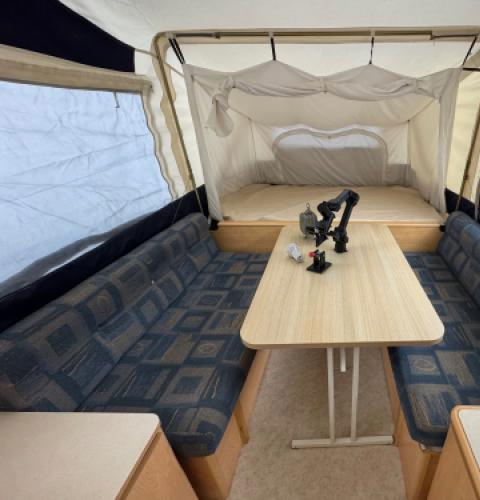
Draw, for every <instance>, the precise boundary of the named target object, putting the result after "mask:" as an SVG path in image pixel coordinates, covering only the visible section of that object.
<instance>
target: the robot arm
mask: <svg viewBox="0 0 480 500" xmlns="http://www.w3.org/2000/svg"><path fill="white" fill-rule="evenodd" d="M360 199H361V197H360V195H359V193H358V192H356V191H353V190H352V188H351V189H350V188H344V189H343V190H342V191H341V192H340V193H339V194H338V195H337V196H336V197H334V198H331V199H329V200H322V202H319V204H318V205H317V206H316V211H318V214H319V215H320V216H321V217H322V219H320V220H318V221H316V220H315V222H314V226H316V228H317V229H318V230H316V229H315V228H314V227H312V226H307V227H306V228H305V230H306V231H307V232H308V233H309V234H311V235H310V236H312V235H314V237H315V238H316V240H315V245H314V246H315V248H317V249H319V247H320V246H321V245H322V244H323V243H325V242H326V241H328V240H329V237H331V238H332V242H334V248H333V250H334V251H335V252H336V253H338V254H342V253H346V252H348V250H347V244H348V243H349V241H350V237H349V236H348V231H347V227H348V224H349V221H350V219H351V215H352V212H353V209H354V208H355V207H356V206H357V205H358V203H359V202H360ZM344 203H345V207H344V209H343V212H342V214H341V218H340V221H339V223H338V225H337V226H335V227H334V228H333V230H330V229H331V228H332V227H333V226H332V225H333V222H334V219H336V218H337V216H336V214H335V213H339V212H340V210H341V209H342V205H343V204H344Z"/></svg>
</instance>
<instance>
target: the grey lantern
mask: <svg viewBox="0 0 480 500" xmlns="http://www.w3.org/2000/svg"><path fill="white" fill-rule="evenodd" d="M305 205H306V209H305V210H304V211H303V212H301V213H299V214H298V215H299V216H298V217H299V218H298V219H299V220H298V221H299V230H300V232H301V233H302V235H304V238H305V239H308V236H312V238H313V240H314V241H316V237H315V235H311V234H309V233H308V232H307V231H306V230H305V228H306V227H307V226H312V227H314V228H315V229H316V230H318V229H317V228H316V226H314V222H315V220H316V221H319V220H318V216H317V214H316V212H314V211H313V210H312V209H311V204H310V203H309V202H306V204H305Z"/></svg>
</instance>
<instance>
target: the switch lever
mask: <svg viewBox="0 0 480 500" xmlns="http://www.w3.org/2000/svg"><path fill="white" fill-rule="evenodd" d="M321 252H322V251H319V252H317V253H314V251H310V252H309V253H308V256H309V257H310V258H311V259H313V257H314V256H317V257H319V258H320V253H321Z"/></svg>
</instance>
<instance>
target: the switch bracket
mask: <svg viewBox="0 0 480 500" xmlns="http://www.w3.org/2000/svg"><path fill="white" fill-rule="evenodd" d="M313 252H314V253H317V252H321V253H320V257H317V256H314V257H312V259H313V263H311V264H310V265H308V266H307V267H306V271H309V272H313V273H315V274H320V275H322V274H323V273H324V272H325V271H326V270H328V269H329V268H331V266H332V264H333V263H332V262H330V261H326V250H322V251H320V249H319V248H317V249H315V250H314V251H313Z"/></svg>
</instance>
